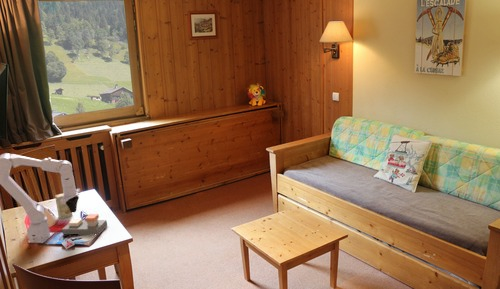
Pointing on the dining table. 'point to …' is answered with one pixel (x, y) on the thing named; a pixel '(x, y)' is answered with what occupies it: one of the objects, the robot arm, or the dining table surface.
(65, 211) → the skincare box
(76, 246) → the dining table surface
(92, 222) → the terracotta plunger
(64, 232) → the panel
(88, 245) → the dining table surface
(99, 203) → the dining table surface
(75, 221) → the cream cube block
